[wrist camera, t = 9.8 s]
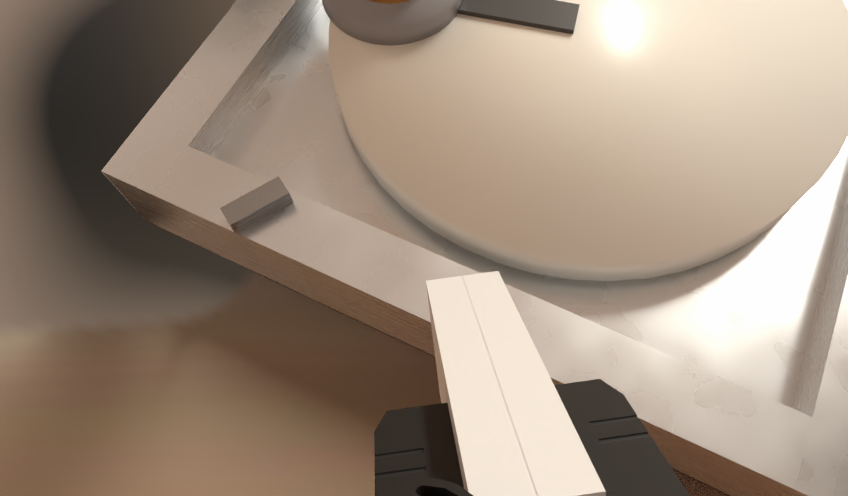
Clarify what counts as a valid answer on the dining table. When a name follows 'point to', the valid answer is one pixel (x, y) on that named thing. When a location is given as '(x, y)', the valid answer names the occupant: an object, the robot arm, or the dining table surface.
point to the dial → (594, 122)
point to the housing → (531, 293)
